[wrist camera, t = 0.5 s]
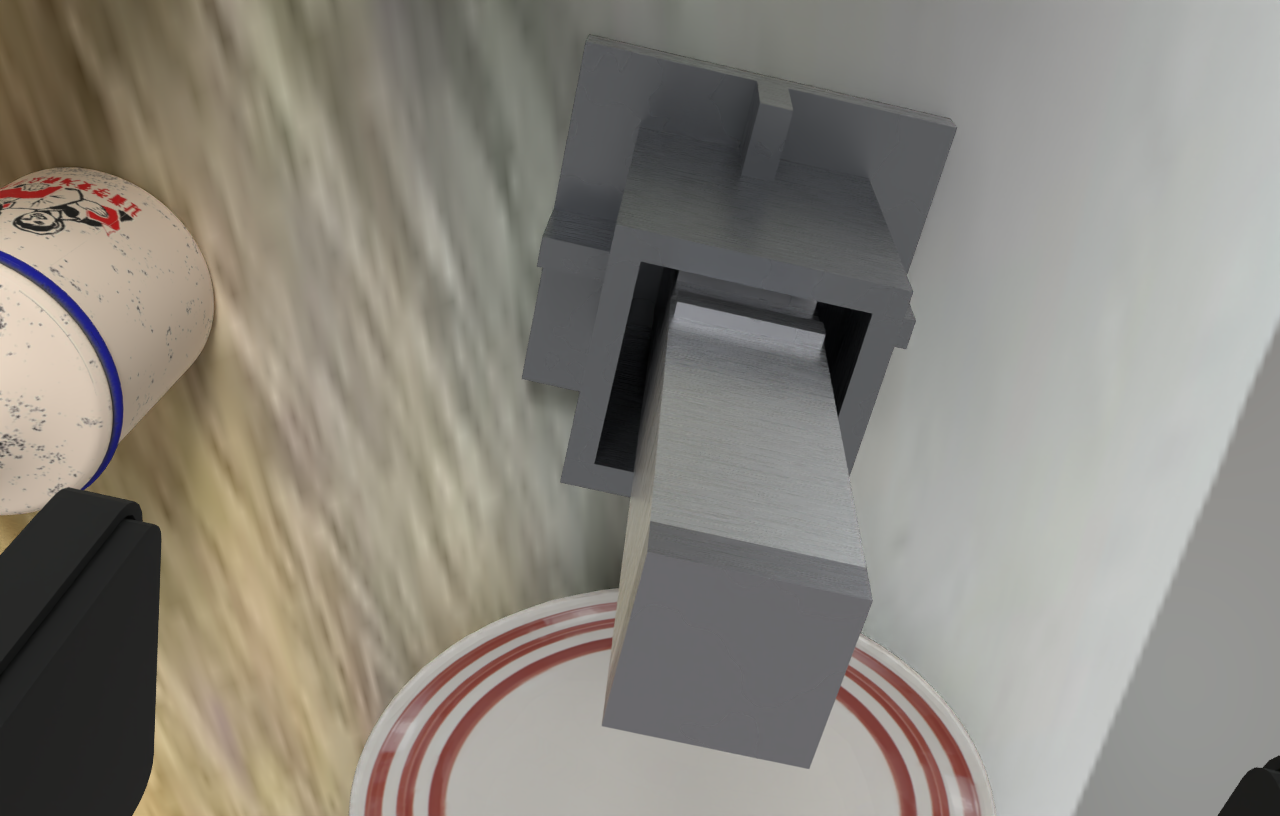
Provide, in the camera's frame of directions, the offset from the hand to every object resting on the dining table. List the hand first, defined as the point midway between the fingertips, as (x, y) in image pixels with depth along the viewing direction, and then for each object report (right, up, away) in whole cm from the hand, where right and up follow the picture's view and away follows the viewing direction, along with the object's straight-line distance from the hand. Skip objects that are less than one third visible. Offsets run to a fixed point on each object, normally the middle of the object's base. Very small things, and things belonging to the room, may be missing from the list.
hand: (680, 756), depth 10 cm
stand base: (+3, +8, +31) cm, 33 cm away
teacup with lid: (-21, +7, +34) cm, 41 cm away
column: (+2, +8, +30) cm, 31 cm away
